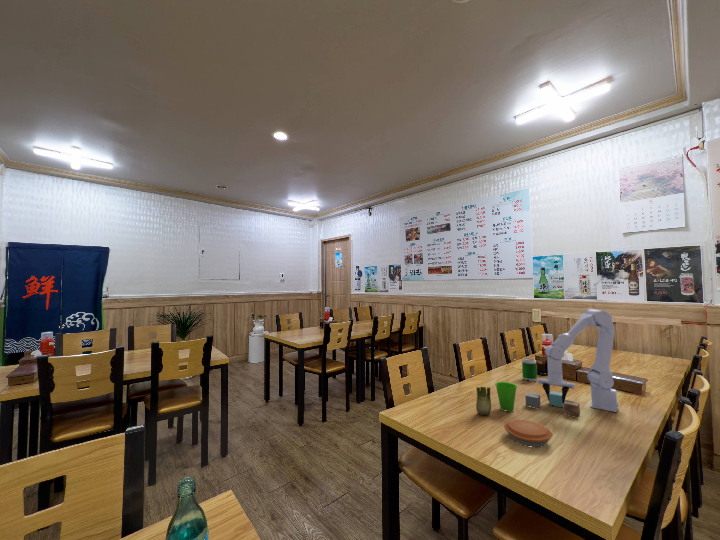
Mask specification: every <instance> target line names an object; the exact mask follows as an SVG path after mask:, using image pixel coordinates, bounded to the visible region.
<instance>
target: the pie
mask: <svg viewBox="0 0 720 540" xmlns="http://www.w3.org/2000/svg"><path fill="white" fill-rule="evenodd" d="M503 428H504V429H505V431H506V433H508V435H509V437H510V438H512V439H513V440H514V441H513V442H515V441H516V442H518V443H520V444H519V445H521V444H522V445H521V446H524V445H526V446H525V447H528V446H532V447H531V448H542V447H541V446H543V447H545V446H546V445H547V443H548V442H549V441H550V440H551V439H552V437H553V432H552V431H551V430H550V429H549V428H548V427H546V426H544V425H542V424H540V423H538V422H535V421H531V420H526V419H515V420H514V419H513V420H510V421H507V422H505V423H504V425H503ZM512 439H511V440H512ZM516 442H515V443H516ZM518 443H517V444H518ZM545 444H546V445H545ZM544 445H545V446H544Z"/></svg>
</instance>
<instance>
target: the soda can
mask: <svg viewBox="0 0 720 540" xmlns="http://www.w3.org/2000/svg"><path fill="white" fill-rule="evenodd" d="M521 367H522V369H521V370H522V379H523V380H524V379H525V380H524V381H526V380H529V381H528V382H536V381H538V369H537V361H536V360H535V358H527V357H526V358H522V360H521ZM535 380H536V381H535Z"/></svg>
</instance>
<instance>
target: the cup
mask: <svg viewBox="0 0 720 540" xmlns="http://www.w3.org/2000/svg"><path fill="white" fill-rule="evenodd" d="M494 385H495V387H496V392H497V396H498V398H497V399H498V401H499V402H498V403H499V407H500V408H499V409H503V410H507V411H512V410H513V411H514V409H515V408H514V407H515V400H516V399H515V398H516V393H517V392H516V391H517V388H518V386H517V384H516V383H512V382H508V381H498V382H495V384H494ZM503 410H502V411H503ZM513 411H512V412H513Z"/></svg>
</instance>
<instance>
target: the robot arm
mask: <svg viewBox="0 0 720 540" xmlns="http://www.w3.org/2000/svg"><path fill="white" fill-rule="evenodd" d="M592 326H595V328H597V330H598V331H599V333H598V337H597V338H598V339H597V344H596V352H595V359H594V364H592V365H591V366H590V369H589V370H588V372H587V374H586V375H587V376H586V377H587V380H588V381H589V382H590V395H591V396H590V397H591V398H590V399H591V402H590V405H589V407H590V408H593V409H599V410H603V411H609V412H615V413H618V407H619V402H618V392H617V389H615V388H613V386H614V384H615V382H614V378H613V375H614V374H613V371H612V370H611V368H610V365H611V358H612V353H613V346H614V339H615V333H616V328H615V325H614V322H613V316H612V315H611V314H610V313H609V312H608V311H606V310H605V309H602V310H601V309H595V308H588V309H586V310H585V311H584V312H583V313H582V314H581V315H580V317H579V318H578V320H577V321H576V322H575V323H574V324H573V325H572V327H571V328H569V330H568V331H567V332H565V333H562V334H559V335H558V336H557V338H556V339H555V340H554V341H553V342H551V343H550V345H549V344H548V345H547V346H546V348H545V349H544V354H545V355H546V357H547V358H546V359H547V378H538V377H537V384H542V385H541V386H542V389H543V390H544V392H545V394H546V397H547V401H548V402H549V393H550V392H551V386H555V387H561V393H562V396H563V398H562V403H563V404H564V402H565V400H566V397H567V394H568V392H569V390H570V389H572V390H575V388H576V386H575V383H571V382H568V381H564V378H563V362H562V360H563V359H562V358H564V356H565V352H566V351H567V350H568V349H569V348H570V347H571V346H573V344H574V342H575V338H576V337H577V336H578V335H579V334H580V333H581V332H582V331H584V330H585V329H586V328H587V327H592Z"/></svg>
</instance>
